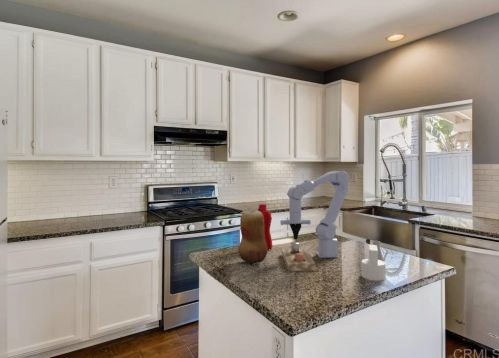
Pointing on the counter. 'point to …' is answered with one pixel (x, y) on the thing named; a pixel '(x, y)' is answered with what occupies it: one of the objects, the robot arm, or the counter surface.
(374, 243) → the flask
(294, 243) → the steel plunger
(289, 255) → the socket block
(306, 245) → the counter surface
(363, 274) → the base with upright slab
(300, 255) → the pink rounded block
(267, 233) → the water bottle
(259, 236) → the butternut squash
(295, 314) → the counter surface
